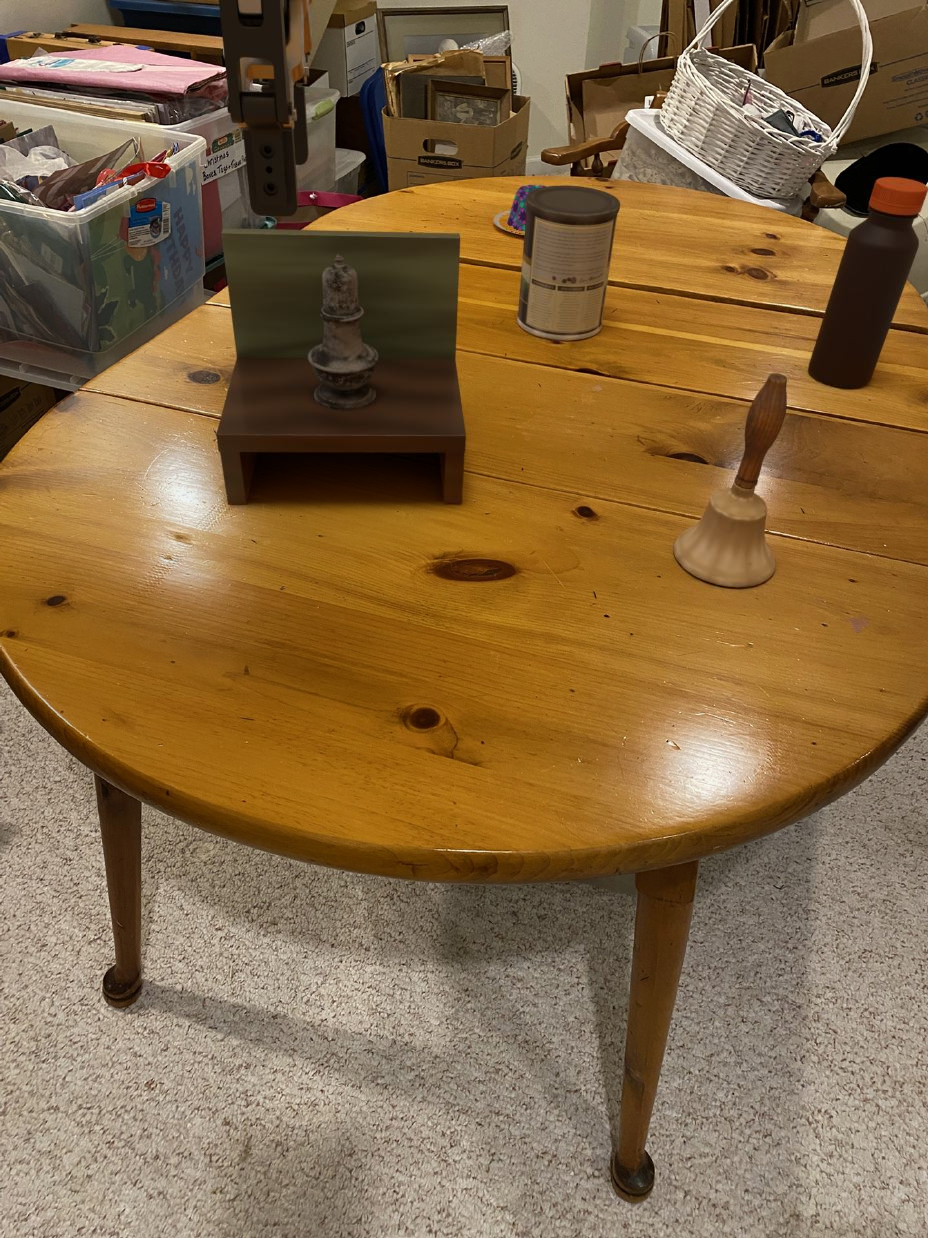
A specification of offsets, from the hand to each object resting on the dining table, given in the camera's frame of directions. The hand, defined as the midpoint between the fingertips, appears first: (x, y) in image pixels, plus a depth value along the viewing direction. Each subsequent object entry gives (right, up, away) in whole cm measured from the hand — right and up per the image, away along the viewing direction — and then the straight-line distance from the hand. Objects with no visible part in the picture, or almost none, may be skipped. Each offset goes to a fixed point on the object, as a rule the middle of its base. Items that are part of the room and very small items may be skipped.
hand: (282, 186), depth 48 cm
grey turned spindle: (-1, -3, +32) cm, 32 cm away
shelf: (-1, -8, +36) cm, 37 cm away
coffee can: (+21, +13, +63) cm, 67 cm away
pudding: (+20, +35, +88) cm, 97 cm away
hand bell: (+31, -17, +28) cm, 45 cm away
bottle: (+51, +5, +55) cm, 75 cm away
